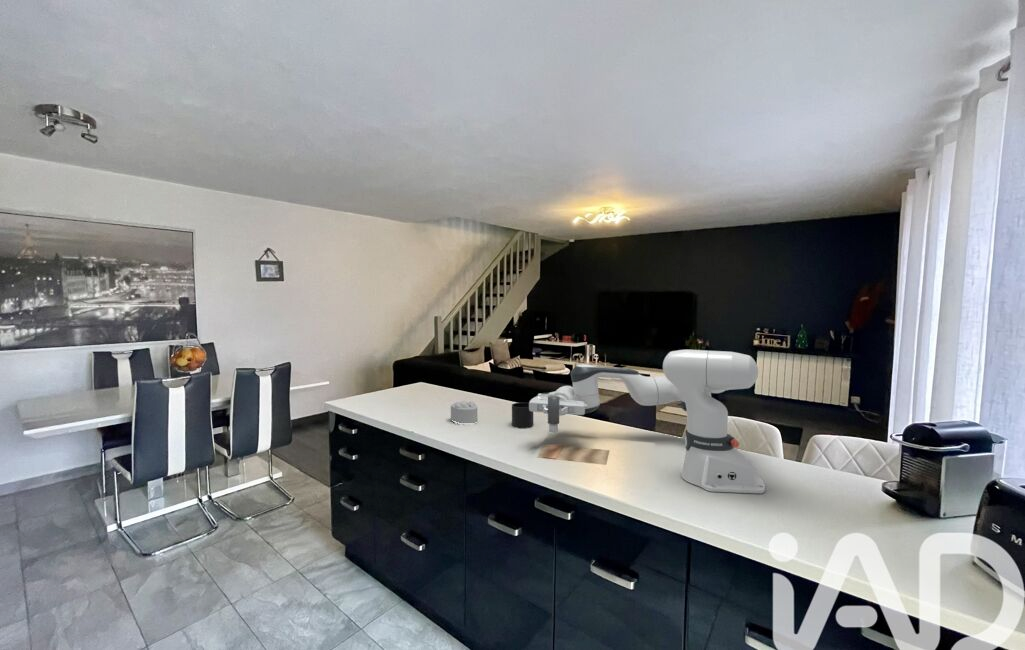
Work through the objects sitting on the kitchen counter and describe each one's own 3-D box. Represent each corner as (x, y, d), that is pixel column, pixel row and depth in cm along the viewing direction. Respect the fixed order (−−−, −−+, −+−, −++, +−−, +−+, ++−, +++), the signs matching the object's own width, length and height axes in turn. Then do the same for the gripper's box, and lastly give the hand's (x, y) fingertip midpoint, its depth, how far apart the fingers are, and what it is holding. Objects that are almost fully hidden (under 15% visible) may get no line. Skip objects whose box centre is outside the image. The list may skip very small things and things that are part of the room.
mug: (541, 423, 189) (541, 403, 188) (524, 429, 179) (524, 408, 179) (524, 419, 195) (524, 400, 194) (507, 425, 185) (507, 405, 185)
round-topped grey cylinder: (560, 430, 150) (560, 396, 149) (558, 433, 146) (558, 398, 145) (549, 429, 151) (549, 395, 150) (546, 432, 147) (546, 398, 147)
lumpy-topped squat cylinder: (466, 416, 201) (466, 398, 200) (483, 422, 191) (483, 403, 190) (447, 420, 194) (447, 401, 194) (463, 426, 184) (463, 407, 184)
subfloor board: (609, 454, 150) (609, 449, 150) (606, 469, 137) (606, 463, 137) (545, 448, 157) (545, 443, 157) (536, 461, 143) (536, 456, 143)
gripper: (588, 413, 158) (583, 423, 144) (534, 409, 164) (524, 418, 150) (588, 396, 157) (583, 404, 144) (534, 393, 163) (524, 400, 150)
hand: (553, 411), depth 147 cm, fingers closed on round-topped grey cylinder, 4 cm apart
